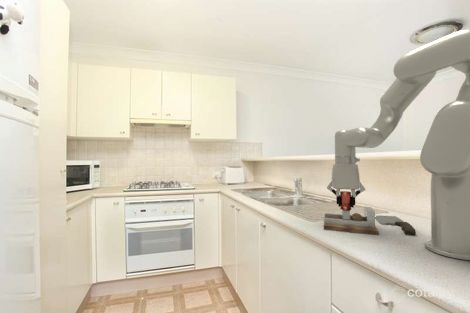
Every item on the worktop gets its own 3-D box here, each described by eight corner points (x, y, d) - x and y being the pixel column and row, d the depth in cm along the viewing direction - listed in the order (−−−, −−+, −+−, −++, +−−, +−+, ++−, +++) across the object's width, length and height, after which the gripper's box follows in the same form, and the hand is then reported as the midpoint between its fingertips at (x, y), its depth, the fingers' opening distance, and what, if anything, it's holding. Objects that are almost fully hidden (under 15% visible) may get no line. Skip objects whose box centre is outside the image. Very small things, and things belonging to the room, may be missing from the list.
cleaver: (424, 237, 78) (424, 231, 79) (391, 234, 82) (391, 228, 82) (395, 218, 106) (395, 213, 106) (371, 216, 109) (371, 212, 110)
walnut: (355, 224, 92) (364, 219, 91) (356, 226, 89) (365, 221, 87) (348, 215, 93) (357, 210, 92) (349, 217, 90) (358, 212, 88)
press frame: (370, 221, 93) (370, 206, 93) (375, 228, 83) (375, 212, 84) (324, 217, 100) (324, 203, 100) (324, 223, 90) (323, 208, 90)
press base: (371, 223, 95) (371, 220, 95) (378, 235, 80) (378, 230, 81) (324, 219, 102) (324, 216, 102) (323, 229, 87) (323, 225, 87)
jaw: (350, 220, 94) (350, 190, 94) (352, 224, 88) (351, 193, 88) (340, 219, 96) (339, 190, 96) (340, 223, 89) (340, 192, 90)
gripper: (367, 161, 92) (368, 206, 92) (323, 161, 99) (323, 203, 99) (370, 161, 86) (371, 210, 85) (322, 161, 92) (323, 206, 92)
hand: (345, 206), depth 92 cm, fingers closed on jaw, 4 cm apart
